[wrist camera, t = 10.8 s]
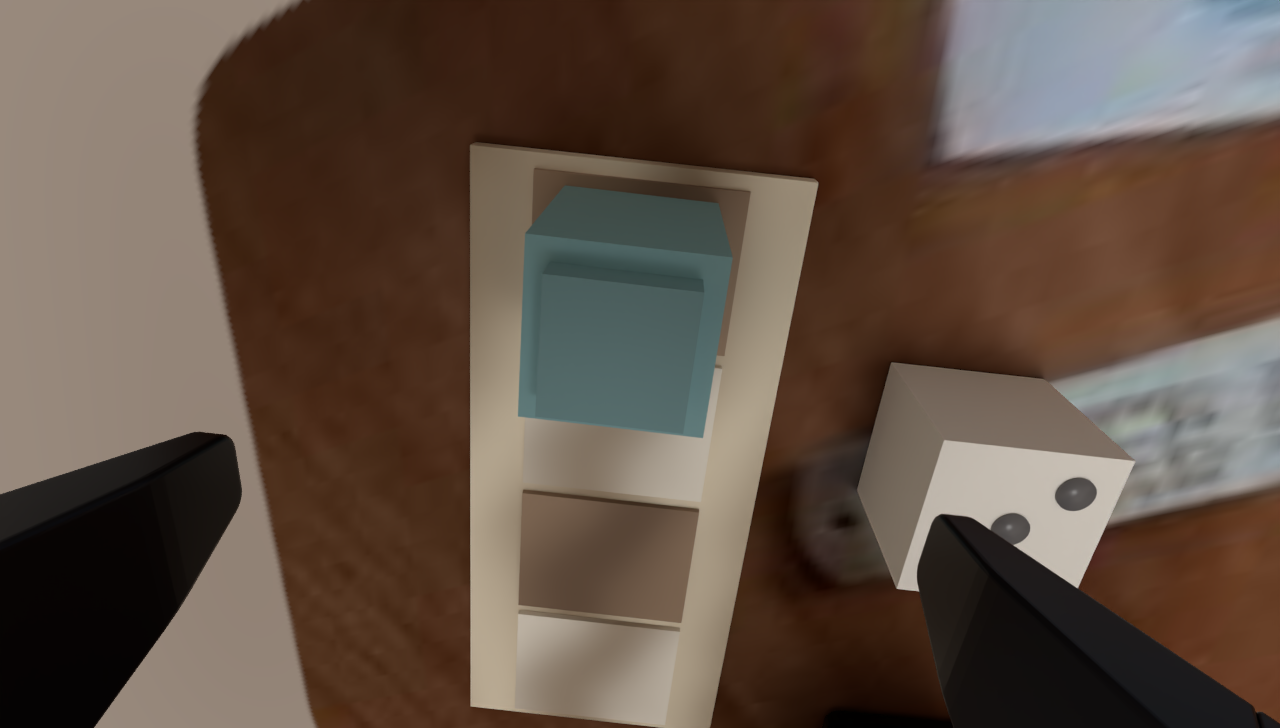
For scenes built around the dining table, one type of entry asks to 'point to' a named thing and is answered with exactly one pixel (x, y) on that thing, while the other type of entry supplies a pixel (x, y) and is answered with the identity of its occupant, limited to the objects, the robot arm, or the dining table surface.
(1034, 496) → the die
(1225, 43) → the dining table surface
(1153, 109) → the dining table surface
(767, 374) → the game strip
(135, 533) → the robot arm
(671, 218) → the teal rectangular block
